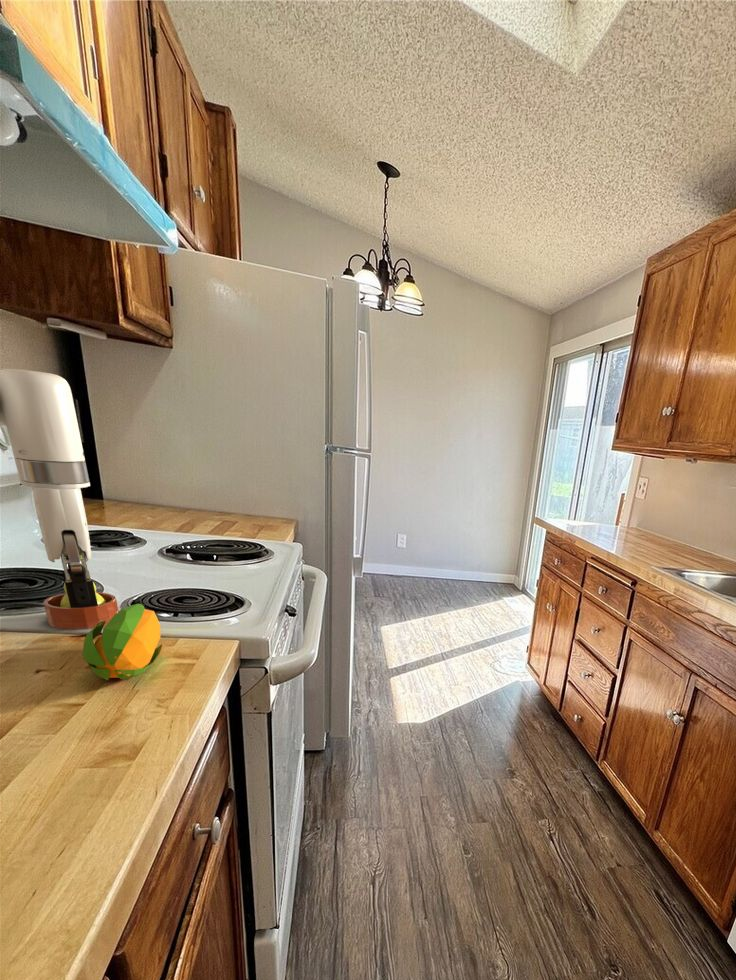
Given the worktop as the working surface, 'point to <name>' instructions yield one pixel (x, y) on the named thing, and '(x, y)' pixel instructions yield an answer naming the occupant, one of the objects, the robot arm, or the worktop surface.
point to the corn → (124, 643)
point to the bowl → (79, 613)
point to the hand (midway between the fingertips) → (82, 600)
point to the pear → (65, 599)
